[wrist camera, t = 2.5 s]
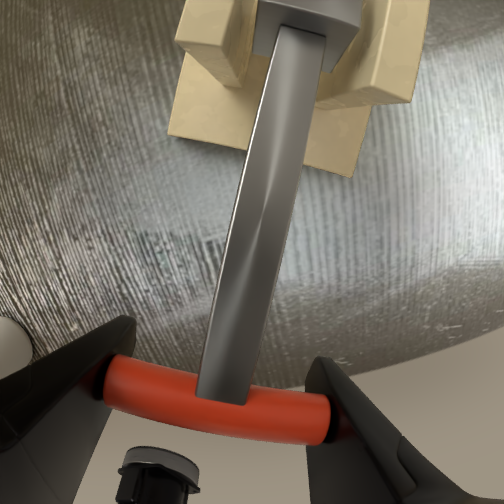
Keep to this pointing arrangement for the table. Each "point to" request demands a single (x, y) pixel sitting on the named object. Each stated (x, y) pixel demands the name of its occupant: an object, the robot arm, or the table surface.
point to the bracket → (330, 84)
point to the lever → (253, 249)
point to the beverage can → (13, 347)
